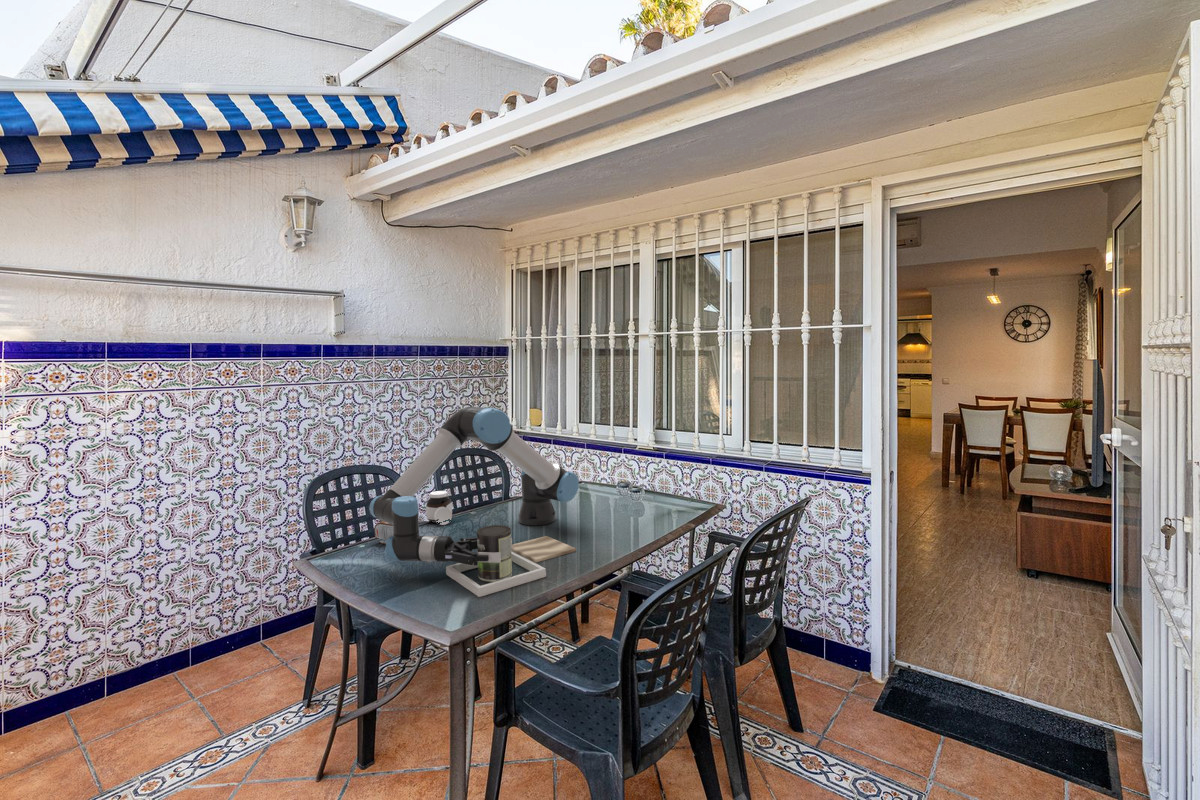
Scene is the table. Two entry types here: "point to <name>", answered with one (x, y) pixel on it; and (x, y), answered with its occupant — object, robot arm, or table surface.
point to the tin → (383, 531)
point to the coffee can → (495, 541)
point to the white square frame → (483, 590)
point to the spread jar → (439, 507)
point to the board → (542, 548)
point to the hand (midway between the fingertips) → (506, 549)
